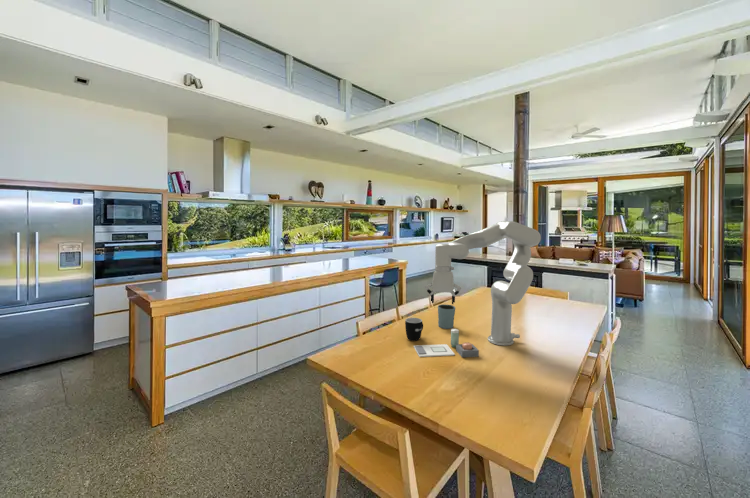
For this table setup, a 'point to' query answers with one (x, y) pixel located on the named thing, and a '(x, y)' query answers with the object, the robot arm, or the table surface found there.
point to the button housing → (467, 351)
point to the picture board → (433, 350)
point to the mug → (413, 328)
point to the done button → (467, 346)
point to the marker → (454, 337)
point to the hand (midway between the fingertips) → (442, 303)
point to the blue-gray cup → (446, 316)
